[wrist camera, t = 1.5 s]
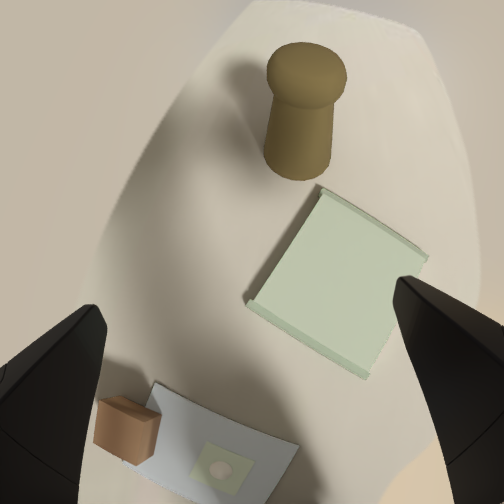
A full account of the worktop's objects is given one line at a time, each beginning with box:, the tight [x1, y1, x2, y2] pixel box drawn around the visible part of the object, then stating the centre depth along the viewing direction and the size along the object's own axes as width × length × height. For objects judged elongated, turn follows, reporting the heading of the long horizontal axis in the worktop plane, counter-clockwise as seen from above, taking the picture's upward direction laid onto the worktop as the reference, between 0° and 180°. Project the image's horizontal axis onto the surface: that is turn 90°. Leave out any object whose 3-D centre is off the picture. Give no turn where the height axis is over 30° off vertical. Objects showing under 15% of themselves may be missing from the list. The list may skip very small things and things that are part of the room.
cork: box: [264, 42, 347, 181], centre depth 20 cm, size 6×6×11 cm
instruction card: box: [122, 383, 299, 504], centre depth 18 cm, size 12×9×1 cm
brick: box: [93, 396, 162, 466], centre depth 18 cm, size 4×4×3 cm
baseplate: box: [246, 188, 429, 380], centre depth 21 cm, size 11×11×1 cm
